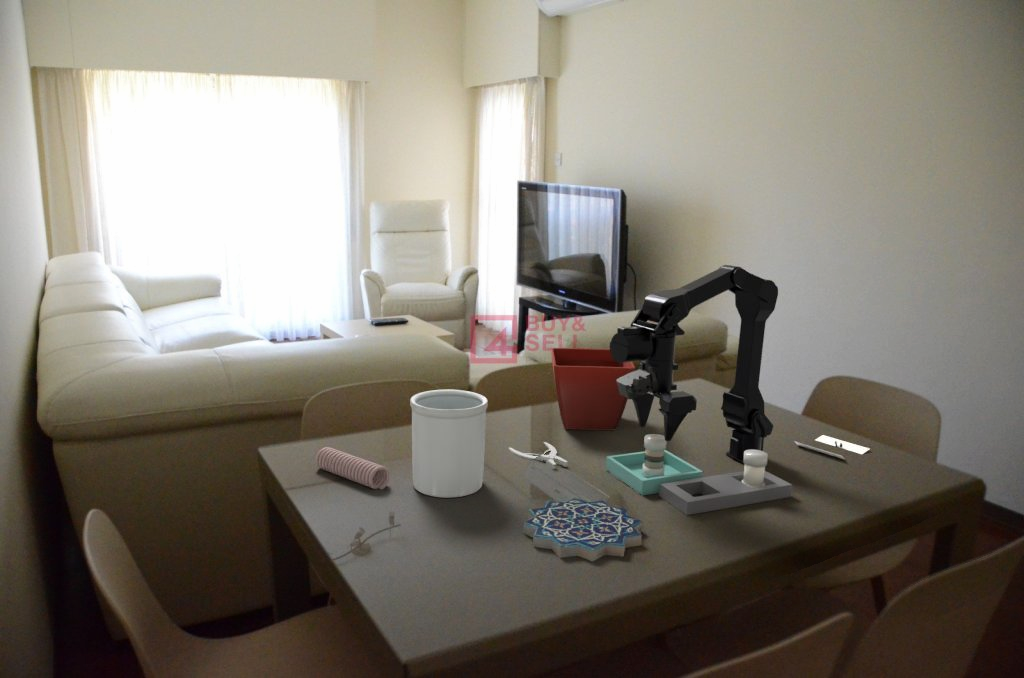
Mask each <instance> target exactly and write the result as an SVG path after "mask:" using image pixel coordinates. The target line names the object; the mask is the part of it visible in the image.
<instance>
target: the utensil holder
mask: <svg viewBox="0 0 1024 678" xmlns="http://www.w3.org/2000/svg"><path fill="white" fill-rule="evenodd" d="M409 402H410V403H409V404H410V408H411V447H412V449H411V452H412V453H411V454H412V455H411V458H412V459H411V460H412V461H411V462H412V484H413V488H414V489H415V490H416V491H418V492H419V493H421V494H423V495H426V496H430V497H435V498H445V499H446V498H460V497H464V496H465V497H466V496H468V495H472V494H474V493H477V492H478V491H479V490H480V489H481V488H482V486H483V480H484V469H485V467H484V464H485V447H486V446H485V441H486V428H487V427H486V423H487V409H488V406H489V402H488V398H486V396H484V395H483V394H479V393H477V392H473V391H468V390H462V389H452V388H451V389H449V388H447V389H435V390H434V389H433V390H427V391H423V392H422V391H421V392H418V393H416V394H414V395H413V396H411V398H410V400H409Z"/></svg>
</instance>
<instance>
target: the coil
mask: <svg viewBox="0 0 1024 678" xmlns="http://www.w3.org/2000/svg"><path fill="white" fill-rule="evenodd" d="M315 465H316V467H317V468H319V469H321V470H323V471H326V472H329V473H331V474H334V475H337V476H339V477H341V478H344V479H345V480H346V479H347V480H350V481H352V482H355V483H358V484H359V485H362V486H365V487H368V488H371V489H373V490H375V489H376V490H377V489H379V490H383V489H385V488H386V487H387V485H388V484H389V481H390V472H389V469H388V468H387V467H386V466H384V465H380V464H379V463H375V462H373V461H369V460H367V459H363V458H361V457H358V456H354V455H352V454H350V453H347V452H344V451H342V450H338V449H336V448H333V447H331V446H330V447H328V446H326V447H324V448H323V447H322V448H321V449H320V450H319V451H318V452H317V454H316V456H315Z"/></svg>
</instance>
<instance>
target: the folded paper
mask: <svg viewBox="0 0 1024 678" xmlns="http://www.w3.org/2000/svg"><path fill="white" fill-rule="evenodd" d="M814 441H816V442H819V443H823V444H825V445H830V446H833V447H836V448H840V449H843V450H845V451H850V452H854V453H857V454H859V455H863V454H865V453H867V452H868V451H869V450H870V449H871V448H869V447H867V446H866V447H865V446H862V445H859V444H855V443H851V442H849V441H844V440H841V439H840V438H839V439H838V438H835V437H832V436H828V435H825V434H822V435H820V436H818V437H817V438H816V439H814ZM793 442H794V443H795V444H796V445H797V446H799V447H802V448H805V449H807V450H812V451H815V452H818V453H821V454H825V455H828V456H832V457H835V458H838V459H841V460H844V461H845V460H846V458H844V456H843V455H842V454H837V453H834V452H833V451H832V452H831V451H828V450H825V449H821V448H818V447H816V446H815V447H814V446H812V445H808V444H806V443H802V442H799V441H795V440H793Z"/></svg>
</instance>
